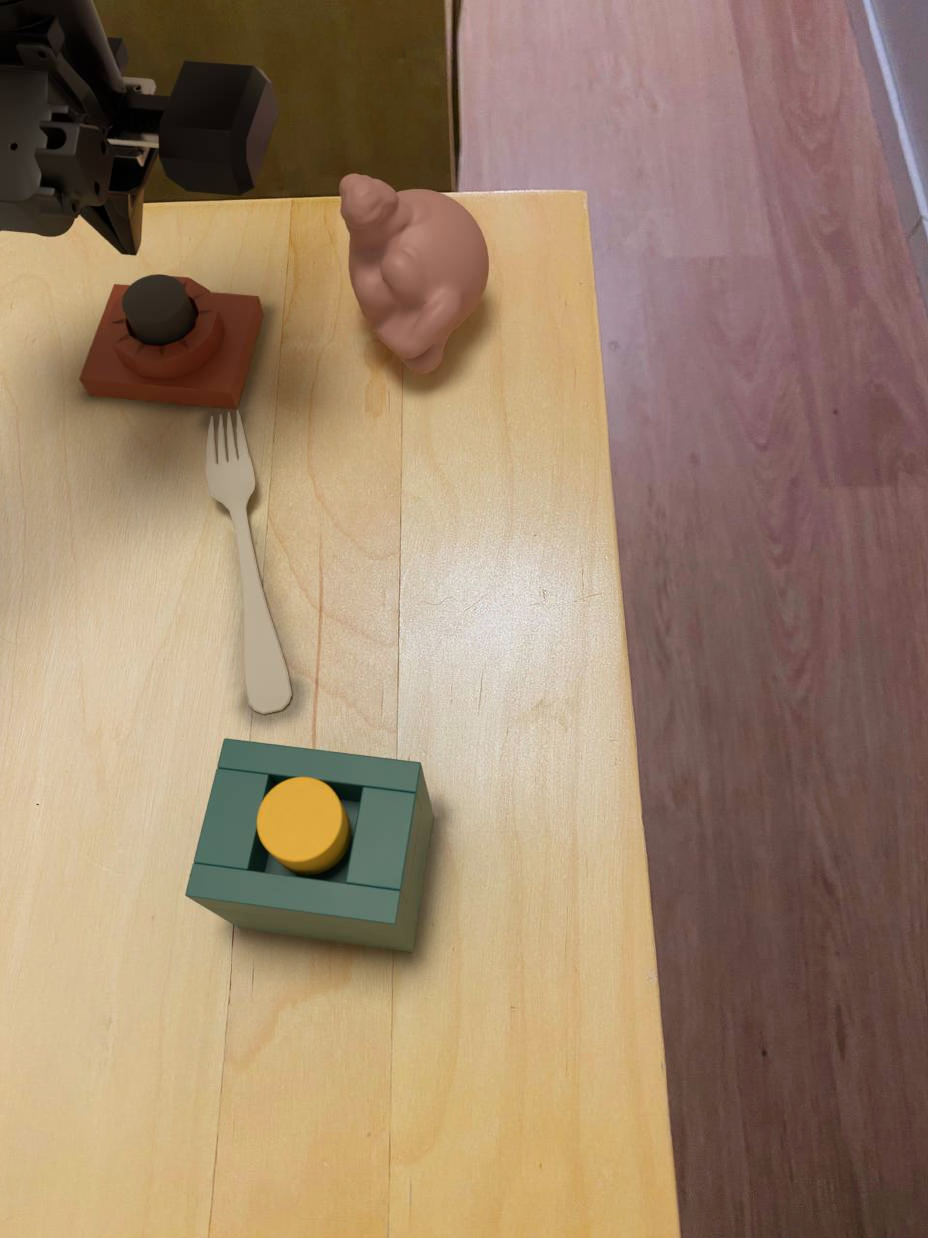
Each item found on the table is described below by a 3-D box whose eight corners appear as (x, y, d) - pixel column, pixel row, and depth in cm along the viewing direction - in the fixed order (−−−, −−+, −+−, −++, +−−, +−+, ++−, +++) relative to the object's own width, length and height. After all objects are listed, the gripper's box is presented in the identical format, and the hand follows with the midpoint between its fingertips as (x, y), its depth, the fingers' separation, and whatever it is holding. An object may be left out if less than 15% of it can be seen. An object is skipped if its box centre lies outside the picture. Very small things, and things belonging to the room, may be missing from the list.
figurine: (359, 399, 64) (331, 259, 53) (357, 269, 69) (330, 116, 58) (496, 389, 64) (496, 247, 53) (484, 260, 69) (482, 105, 58)
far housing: (88, 395, 65) (67, 360, 62) (122, 301, 68) (104, 263, 65) (237, 409, 64) (223, 374, 61) (264, 313, 67) (252, 275, 64)
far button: (124, 343, 63) (113, 320, 61) (142, 294, 64) (131, 271, 62) (186, 348, 62) (176, 325, 60) (201, 299, 64) (193, 276, 62)
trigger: (262, 869, 43) (247, 856, 41) (280, 789, 45) (266, 771, 42) (343, 880, 43) (333, 867, 40) (358, 799, 45) (349, 781, 42)
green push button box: (238, 928, 50) (184, 896, 42) (268, 793, 53) (223, 737, 45) (413, 952, 50) (395, 925, 41) (434, 814, 52) (421, 762, 44)
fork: (256, 727, 57) (246, 716, 55) (203, 418, 64) (191, 394, 61) (305, 716, 57) (297, 705, 55) (246, 409, 64) (237, 385, 61)
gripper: (-297, 78, 38) (-81, 348, 53) (167, 114, 37) (261, 383, 51) (-177, -97, 43) (-8, 195, 57) (241, -72, 41) (308, 222, 55)
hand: (132, 249), depth 55 cm, fingers closed
